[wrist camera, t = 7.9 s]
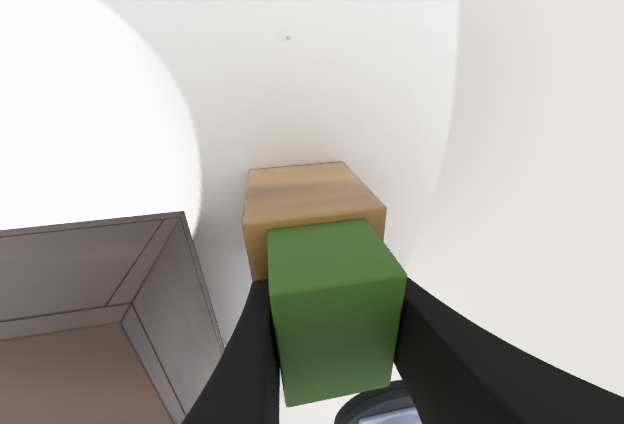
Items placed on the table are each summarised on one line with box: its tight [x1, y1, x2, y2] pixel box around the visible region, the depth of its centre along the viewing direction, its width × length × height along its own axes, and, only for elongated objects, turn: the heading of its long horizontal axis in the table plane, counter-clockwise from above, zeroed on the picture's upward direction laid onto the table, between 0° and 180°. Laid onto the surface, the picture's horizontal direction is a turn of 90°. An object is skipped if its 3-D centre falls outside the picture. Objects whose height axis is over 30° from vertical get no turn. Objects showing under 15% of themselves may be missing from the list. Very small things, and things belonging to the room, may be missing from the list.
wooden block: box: [242, 162, 387, 282], centre depth 13 cm, size 6×5×6 cm
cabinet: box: [0, 211, 224, 424], centre depth 14 cm, size 13×11×8 cm
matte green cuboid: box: [267, 218, 407, 407], centre depth 9 cm, size 5×4×3 cm
